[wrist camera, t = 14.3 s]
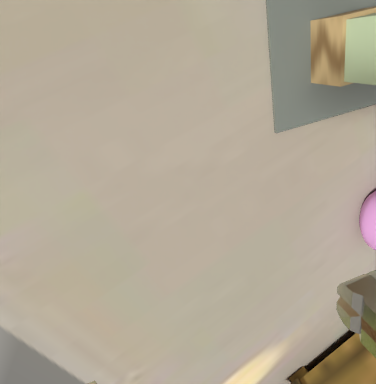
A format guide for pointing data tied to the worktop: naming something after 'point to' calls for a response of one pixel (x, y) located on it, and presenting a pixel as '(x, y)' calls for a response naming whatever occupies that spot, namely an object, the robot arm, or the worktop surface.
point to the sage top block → (360, 50)
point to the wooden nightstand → (341, 366)
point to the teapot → (369, 220)
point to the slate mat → (307, 65)
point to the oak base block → (331, 47)
